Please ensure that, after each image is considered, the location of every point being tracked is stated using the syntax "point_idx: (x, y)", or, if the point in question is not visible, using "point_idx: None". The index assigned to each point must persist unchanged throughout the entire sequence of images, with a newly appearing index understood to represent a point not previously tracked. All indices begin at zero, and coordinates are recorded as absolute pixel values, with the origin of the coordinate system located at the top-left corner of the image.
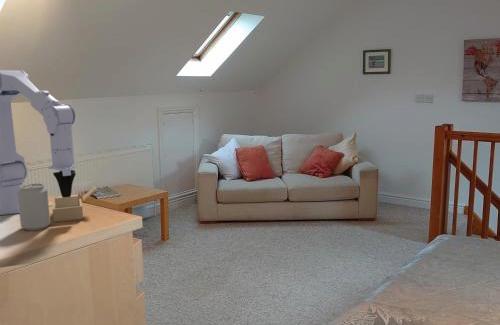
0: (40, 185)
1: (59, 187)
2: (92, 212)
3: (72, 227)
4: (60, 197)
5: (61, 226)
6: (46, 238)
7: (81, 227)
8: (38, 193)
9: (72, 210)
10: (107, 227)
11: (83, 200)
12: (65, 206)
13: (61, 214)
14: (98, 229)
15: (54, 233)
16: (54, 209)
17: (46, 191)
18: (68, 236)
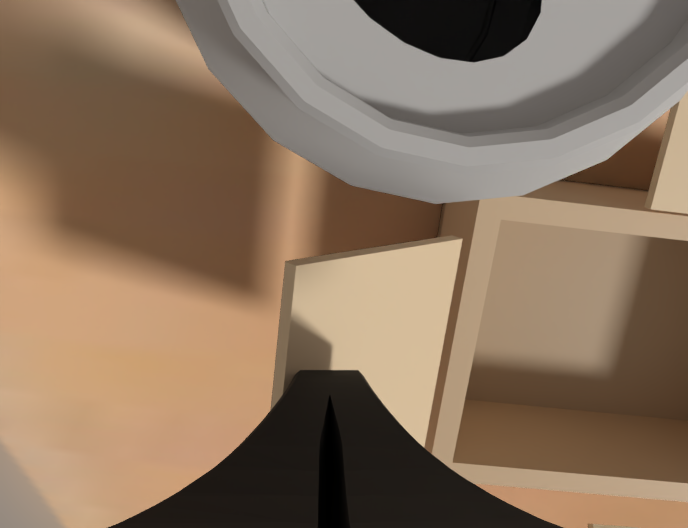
0: (616, 89)
1: (346, 427)
2: (597, 495)
3: (208, 298)
4: None
5: (290, 218)
6: None
7: (171, 361)
8: (182, 4)
9: (438, 374)
10: (76, 524)
11: (591, 526)
12: (430, 336)
13: None
14: (49, 463)
15: (87, 138)
16: (478, 212)
17: (340, 177)
18: None
